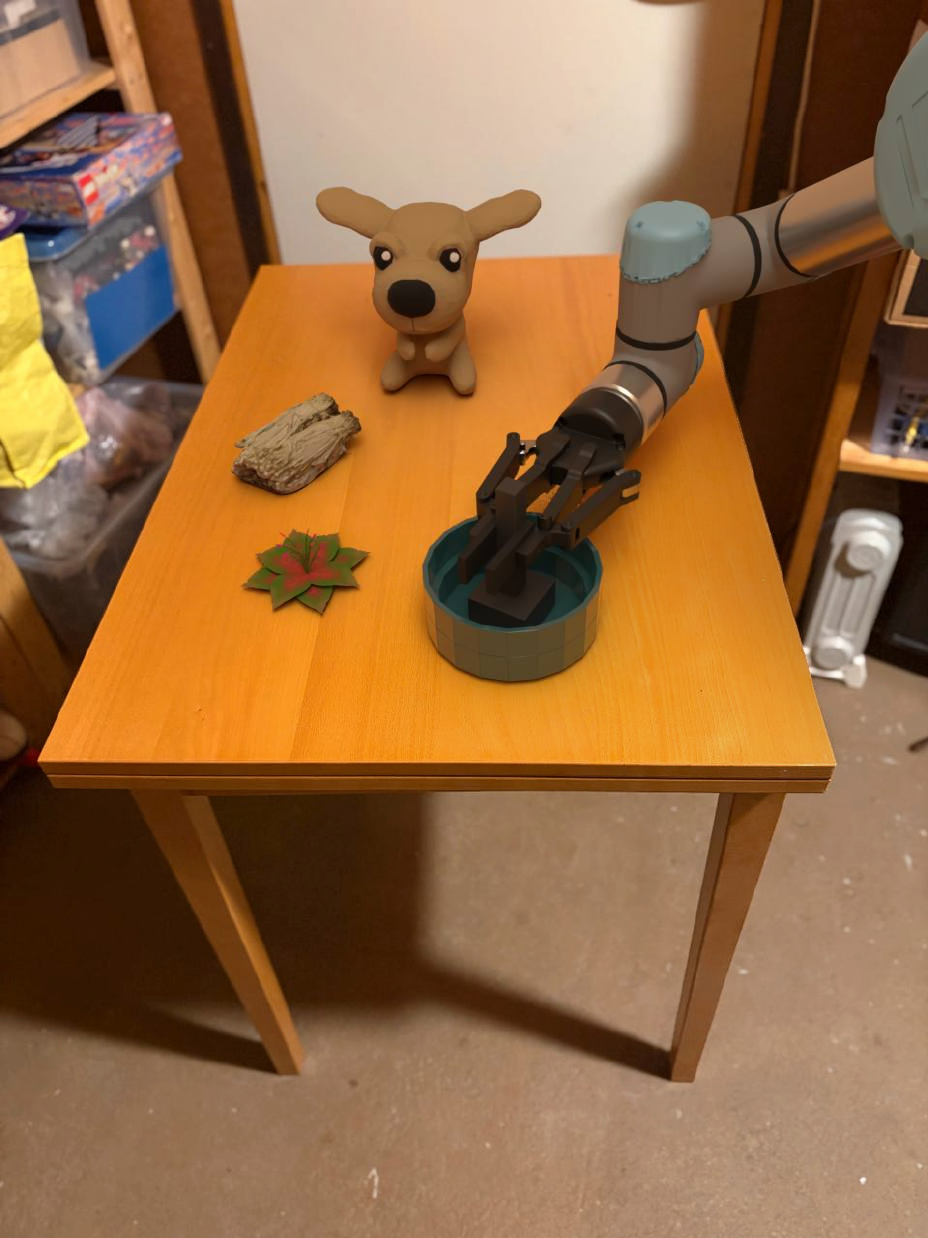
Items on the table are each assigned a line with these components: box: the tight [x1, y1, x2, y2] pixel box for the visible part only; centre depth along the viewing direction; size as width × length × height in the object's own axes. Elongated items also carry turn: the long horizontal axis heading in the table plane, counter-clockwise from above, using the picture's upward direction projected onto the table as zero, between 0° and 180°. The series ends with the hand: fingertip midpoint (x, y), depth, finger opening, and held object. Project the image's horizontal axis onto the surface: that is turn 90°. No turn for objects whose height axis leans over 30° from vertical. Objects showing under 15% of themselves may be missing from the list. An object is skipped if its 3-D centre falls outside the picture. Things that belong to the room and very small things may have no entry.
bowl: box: [421, 510, 604, 682], centre depth 80 cm, size 15×15×6 cm
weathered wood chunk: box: [229, 392, 363, 495], centre depth 99 cm, size 14×10×5 cm, turn 142°
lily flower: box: [239, 528, 372, 615], centre depth 86 cm, size 12×12×5 cm
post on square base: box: [468, 477, 556, 628], centre depth 77 cm, size 6×6×14 cm
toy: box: [315, 186, 542, 395], centre depth 105 cm, size 25×20×20 cm
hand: (476, 576), depth 72 cm, fingers closed on post on square base, 2 cm apart
